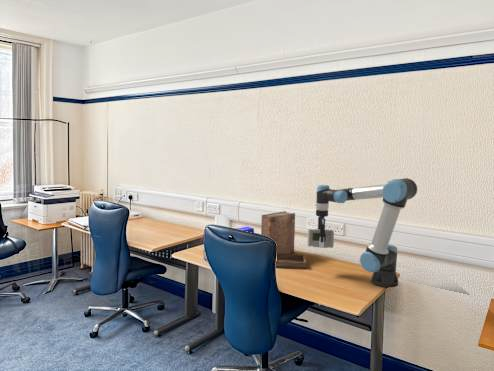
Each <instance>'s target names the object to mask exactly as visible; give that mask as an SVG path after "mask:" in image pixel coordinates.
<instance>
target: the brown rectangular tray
mask: <svg viewBox="0 0 494 371" xmlns="http://www.w3.org/2000/svg"><path fill="white" fill-rule="evenodd" d="M279 267H280V269H281V268H282V269H283V268H284V269H304V270H306V269H307V260H306V256H305V254H300V253H299V254H297V253H296V254H295V253H292V254H277V261H276V267H275V268H279Z"/></svg>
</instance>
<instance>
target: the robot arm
mask: <svg viewBox="0 0 494 371" xmlns="http://www.w3.org/2000/svg"><path fill="white" fill-rule="evenodd" d="M417 193H418V185H417V183H416V182H415V180H413V179H410V178H408V177H406V178H394V179H391V180H387V182H386V183H384V184H383V183H382V184H378V185H377V184H375V185H366V186H365V185H364V186H359V187H358V186H357V187H348V188H342V189H331V188H330V186H329V185H328V184H319V185H317V188H316V203H315V207H316V208H315V209H316V210H315V215H316V216H317V217H318V219H317V226H318V227H317V229H320V236H319V237H320V241H319V247H318V248H320V247H324V237H325V230H326V218H325V217H328V216H329V207H330V206H329V202H332V203H337V204H345V203H346V201H358V200H368V199H382V202H383V208H382V210H381V212H380V216H379V219H378V222H377V225H376V227H375V231H374V233H373V236H372V240H371V242H370V243H368V244H367V246H366V249H365V251H364V252H362V253H360V257H359V264H360V265H361V267H362V268H363V270H364V271H366V272H368V273H371V274H372V275H371V277H370V282H371V283H372V284H373V285H375V286H378V287H383V288H396V287H398V286H399V278H398V275H397V259H398V248H397V246H395V245H392V244H390V241H391V238H392V235H393V232H394V229H395V227H396V223H397V221H398V218H399V215H400V213H401V210H402V209H404V208H405V207H406V205H407V201H409V200H411V199H413V198H414V197H415V196H416V195H417Z"/></svg>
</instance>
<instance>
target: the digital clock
mask: <svg viewBox="0 0 494 371" xmlns="http://www.w3.org/2000/svg"><path fill="white" fill-rule="evenodd" d="M334 232H335V231H334V230H332V229H325V237H324V247H319V241H320V237H319V236H320V229H318V228H309V229H308V230H307V246H308V247H312V248H322V249H328V248H330V249H332V248H334V245H335V244H334V240H335V239H334V237H335V233H334Z"/></svg>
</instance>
